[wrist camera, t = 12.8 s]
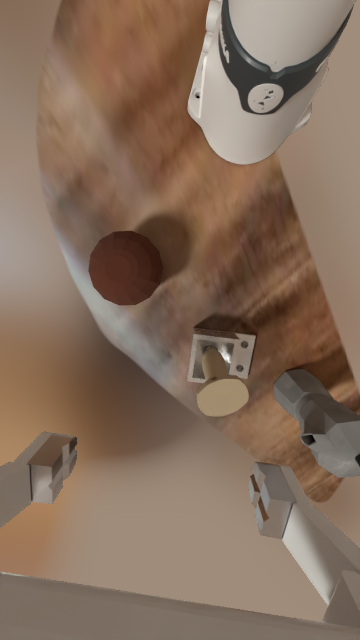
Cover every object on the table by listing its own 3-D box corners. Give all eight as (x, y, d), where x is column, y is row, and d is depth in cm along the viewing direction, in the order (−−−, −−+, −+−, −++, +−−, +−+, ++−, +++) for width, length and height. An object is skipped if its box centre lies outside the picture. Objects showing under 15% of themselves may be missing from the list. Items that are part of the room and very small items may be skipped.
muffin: (123, 310, 40) (102, 321, 30) (94, 257, 38) (61, 251, 28) (177, 282, 38) (173, 285, 29) (149, 226, 36) (135, 209, 27)
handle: (230, 357, 40) (254, 404, 25) (200, 369, 41) (206, 422, 26) (221, 336, 39) (239, 372, 25) (190, 348, 40) (191, 391, 25)
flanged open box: (193, 327, 40) (193, 333, 35) (254, 334, 40) (263, 342, 35) (187, 369, 42) (187, 381, 37) (246, 376, 42) (253, 389, 37)
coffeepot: (257, 401, 43) (303, 490, 25) (270, 360, 41) (331, 425, 23) (329, 417, 43) (426, 516, 25) (346, 377, 41) (465, 454, 23)
